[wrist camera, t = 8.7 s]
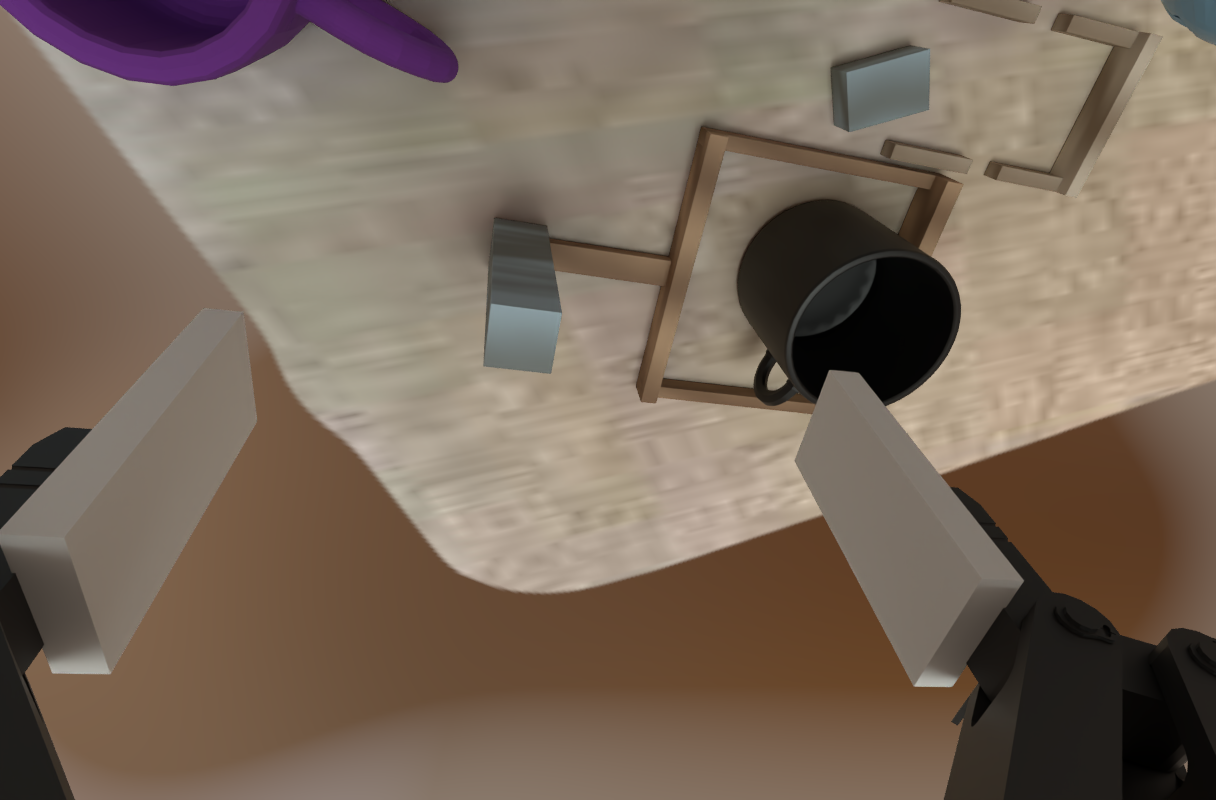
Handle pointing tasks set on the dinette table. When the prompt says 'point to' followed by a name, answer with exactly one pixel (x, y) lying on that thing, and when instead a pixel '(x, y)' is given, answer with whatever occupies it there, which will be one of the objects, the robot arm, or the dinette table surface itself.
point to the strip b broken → (903, 90)
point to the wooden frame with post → (665, 267)
